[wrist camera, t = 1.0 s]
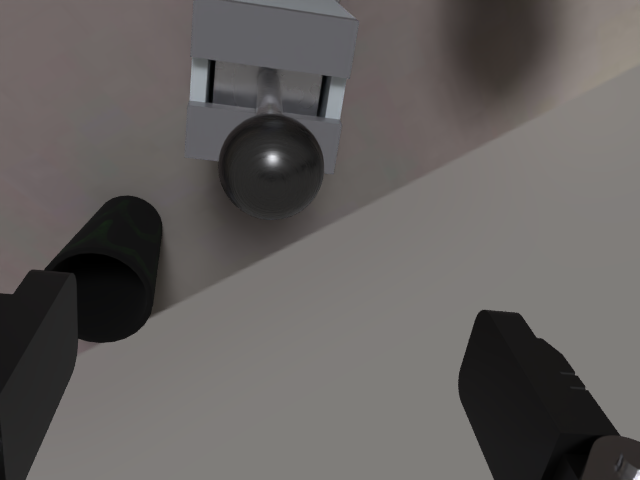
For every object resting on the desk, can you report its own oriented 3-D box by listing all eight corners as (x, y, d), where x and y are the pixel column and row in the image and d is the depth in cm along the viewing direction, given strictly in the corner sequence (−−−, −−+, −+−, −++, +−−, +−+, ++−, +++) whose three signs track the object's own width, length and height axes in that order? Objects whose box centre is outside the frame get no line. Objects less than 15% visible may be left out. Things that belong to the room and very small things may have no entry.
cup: (136, 279, 56) (106, 361, 45) (65, 226, 53) (14, 300, 42) (192, 224, 54) (175, 295, 43) (122, 165, 51) (84, 226, 40)
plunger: (327, 31, 33) (379, 107, 19) (311, 134, 36) (346, 274, 21) (219, 16, 33) (183, 81, 18) (211, 122, 35) (174, 258, 20)
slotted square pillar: (340, -20, 46) (382, 3, 30) (320, 111, 50) (348, 193, 34) (205, -42, 45) (173, -30, 28) (196, 95, 49) (164, 173, 33)
